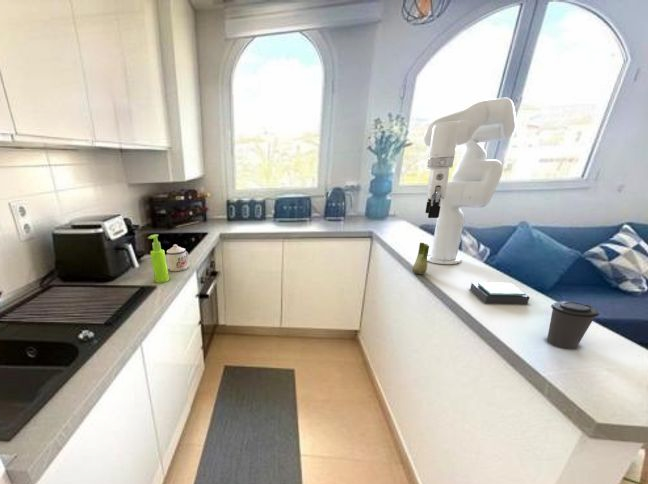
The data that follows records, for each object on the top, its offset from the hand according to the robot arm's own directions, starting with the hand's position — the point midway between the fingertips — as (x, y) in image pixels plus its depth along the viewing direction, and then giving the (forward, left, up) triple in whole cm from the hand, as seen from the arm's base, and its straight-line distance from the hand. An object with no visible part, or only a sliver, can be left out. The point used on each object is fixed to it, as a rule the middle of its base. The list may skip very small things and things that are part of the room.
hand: (431, 215), depth 122 cm
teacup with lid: (+8, -103, -23) cm, 106 cm away
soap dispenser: (+27, -102, -23) cm, 108 cm away
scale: (+18, +20, -23) cm, 35 cm away
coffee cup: (+47, +27, -23) cm, 59 cm away
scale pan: (+19, +20, -20) cm, 34 cm away
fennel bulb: (-2, -1, -23) cm, 23 cm away
